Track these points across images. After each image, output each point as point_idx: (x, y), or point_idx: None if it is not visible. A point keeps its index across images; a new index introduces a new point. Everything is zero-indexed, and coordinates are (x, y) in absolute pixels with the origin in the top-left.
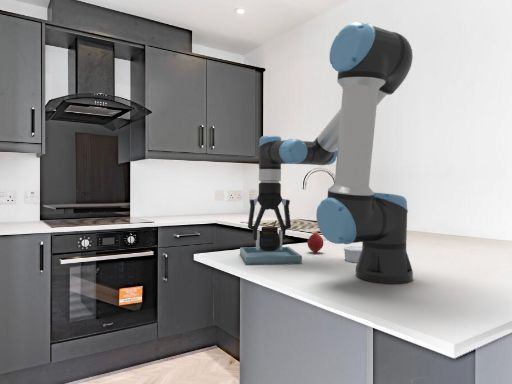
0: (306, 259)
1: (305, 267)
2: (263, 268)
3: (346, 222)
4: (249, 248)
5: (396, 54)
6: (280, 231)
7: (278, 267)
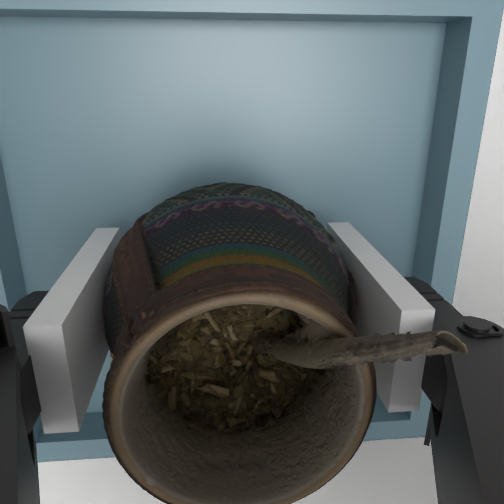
0: (496, 275)
1: (389, 481)
2: (145, 497)
3: None
4: (30, 11)
5: None
6: (387, 407)
7: None
